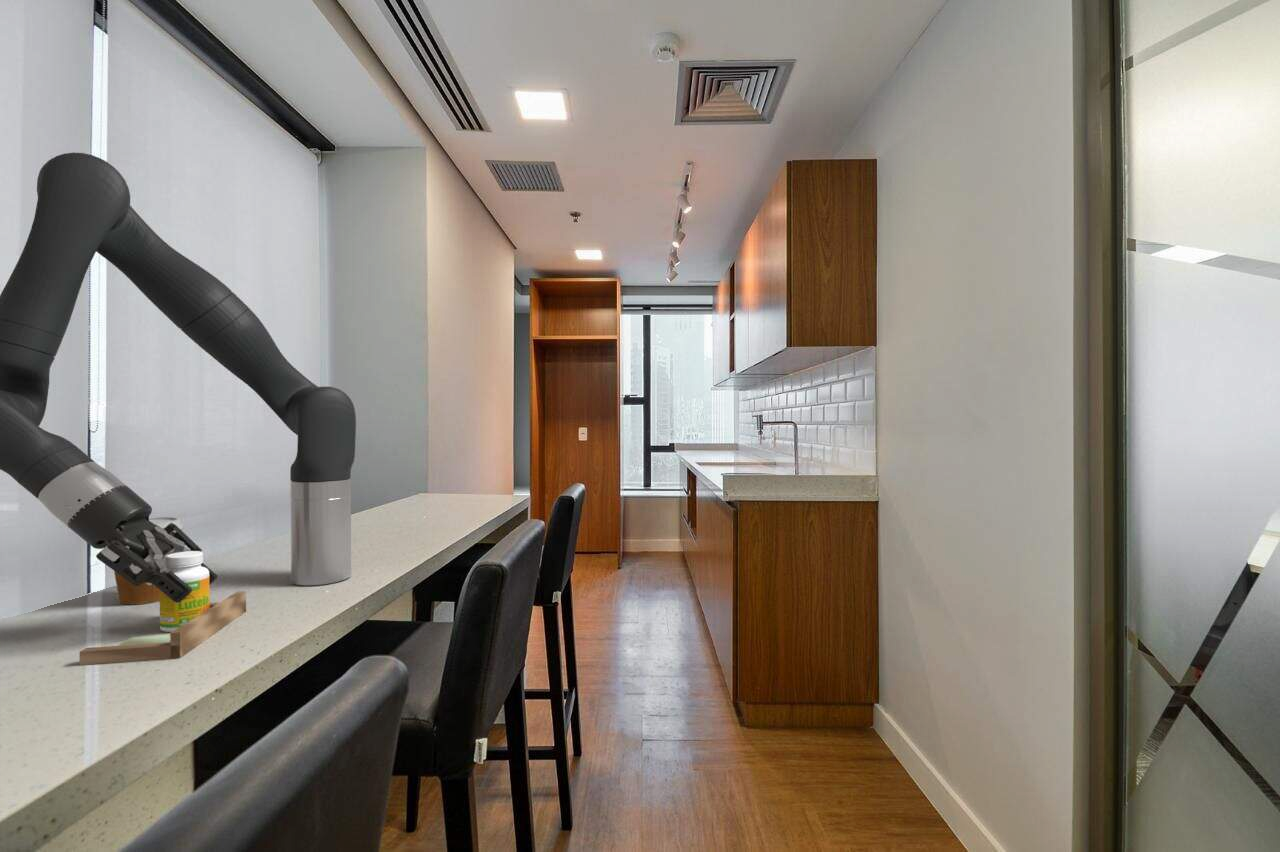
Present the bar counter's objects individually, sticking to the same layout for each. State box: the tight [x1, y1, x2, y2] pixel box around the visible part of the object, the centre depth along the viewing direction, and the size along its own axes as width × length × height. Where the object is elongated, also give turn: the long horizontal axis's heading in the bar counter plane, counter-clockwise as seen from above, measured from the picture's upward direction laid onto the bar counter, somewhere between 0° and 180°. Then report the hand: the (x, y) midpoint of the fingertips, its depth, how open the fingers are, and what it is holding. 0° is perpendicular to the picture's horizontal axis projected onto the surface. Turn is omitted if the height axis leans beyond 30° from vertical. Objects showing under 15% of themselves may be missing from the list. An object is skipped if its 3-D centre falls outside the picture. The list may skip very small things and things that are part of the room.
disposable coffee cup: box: [113, 516, 185, 605], centre depth 94 cm, size 10×10×12 cm
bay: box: [79, 590, 247, 666], centre depth 78 cm, size 17×10×3 cm, turn 11°
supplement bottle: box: [159, 551, 211, 633], centre depth 82 cm, size 5×5×10 cm
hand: (198, 589), depth 82 cm, fingers open, 6 cm apart
